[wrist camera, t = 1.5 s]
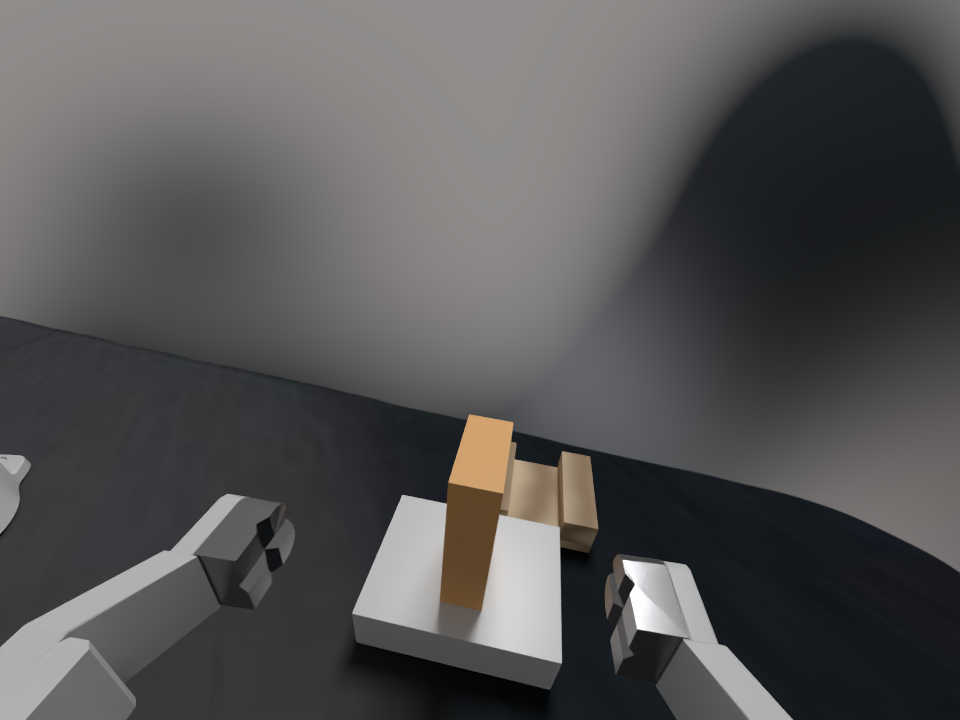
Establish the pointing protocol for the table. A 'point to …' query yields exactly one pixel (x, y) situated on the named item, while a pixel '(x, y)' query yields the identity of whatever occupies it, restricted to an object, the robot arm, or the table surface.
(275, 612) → the table surface
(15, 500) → the robot arm
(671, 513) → the table surface
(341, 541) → the table surface
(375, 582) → the block
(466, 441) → the orange rectangular block
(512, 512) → the rack
